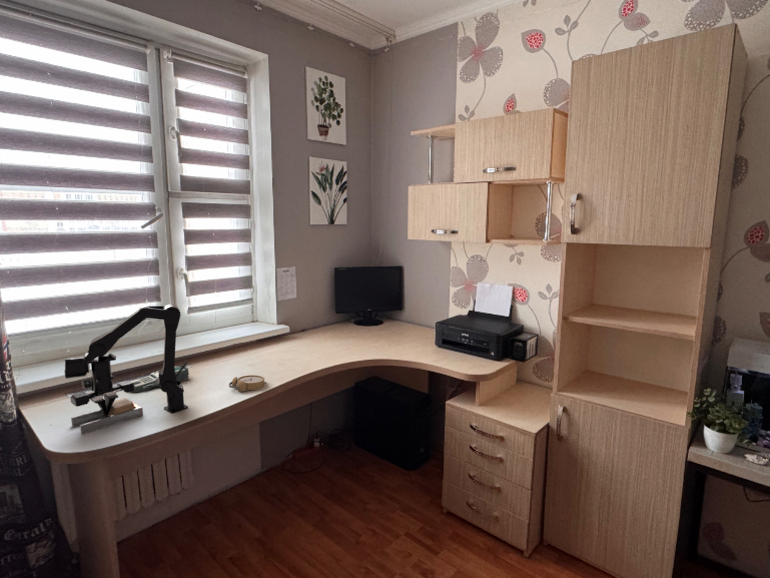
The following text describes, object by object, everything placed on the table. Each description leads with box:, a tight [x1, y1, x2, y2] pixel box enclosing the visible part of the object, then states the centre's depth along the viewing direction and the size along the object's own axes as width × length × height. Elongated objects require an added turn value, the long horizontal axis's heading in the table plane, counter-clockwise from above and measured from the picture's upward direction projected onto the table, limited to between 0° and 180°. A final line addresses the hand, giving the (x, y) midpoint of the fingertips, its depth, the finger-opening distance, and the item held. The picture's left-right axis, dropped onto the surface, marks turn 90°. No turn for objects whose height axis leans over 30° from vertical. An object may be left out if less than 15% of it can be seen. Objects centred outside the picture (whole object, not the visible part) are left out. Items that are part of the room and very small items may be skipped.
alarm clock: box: [228, 374, 268, 393], centre depth 193 cm, size 11×5×15 cm
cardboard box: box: [108, 397, 135, 417], centre depth 165 cm, size 7×6×5 cm
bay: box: [70, 399, 144, 435], centre depth 162 cm, size 10×20×3 cm, turn 140°
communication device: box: [130, 361, 190, 393], centre depth 197 cm, size 12×24×9 cm, turn 138°
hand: (106, 415), depth 161 cm, fingers closed
